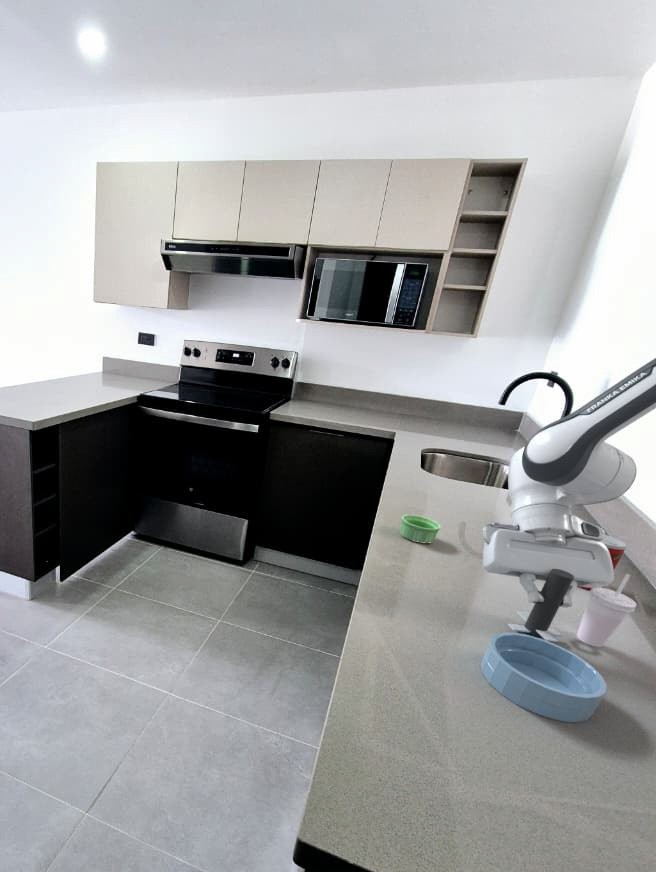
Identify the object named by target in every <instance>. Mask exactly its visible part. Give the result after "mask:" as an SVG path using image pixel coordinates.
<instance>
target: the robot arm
mask: <svg viewBox="0 0 656 872" xmlns="http://www.w3.org/2000/svg"><path fill="white" fill-rule="evenodd" d="M655 409H656V357H655V358H653V359H652V360H650V361H648V362H647V363H645V364H643V365H642V366H641V367H639V368H637V369H636V370H635V371H633V372H631V373H630V374H629V375H627V376H626V377H624V378H622V379H621V380H619V381H618V382H617V383H615V384H613V385H612V386H610V387H609V388H607V389H606V390H605V391H603V392H601V393H600V394H599V395H597V396H595V397H594V398H593V399H591V400H590V401H588V402H586V403H585V404H584V405H582V406H581V407H579V408H578V409H576V410H575V411H573V412H571V413H569V414H568V415H565V416H564V417H562V418H559V419H557V420H555V421H552V422H551V423H548V424H547V425H545V426H543V427H541V428H540V429H538V430H536V432H534V433H533V434H532V435H531V437H529V439H528V440H527V441H526V443H525V445H524V446H523V447H521V448H520V449H518V450H517V451H516V452H515V453H514V454H513V455H512V457H511V459H510V461H509V465H508V470H507V473H508V474H507V483H508V484H507V485H508V496H509V499H510V501H511V503H512V508H511V512H510V519H511V523H501V522H498V521H491V523H488V524H485V526H484V527H483V529H482V537H483V541H484V544H483V549H482V550H483V551H482V567H483V569H484V570H486V572H487V573H490V574H496V575H497V574H498V575H503V576H504V575H505V576H509V577H516V578H519V579H518V580H519V583H520V585H521V586H522V588H523V589H524V591H525V592H526V593H527V598H528V599H527V600H528V603H532V604H535V603H538V604H539V603H542V602H544V597H543V596H544V593H543V592H542V591H541V590H539V589H538V587H537V585H536V584H535V581H544V582H546V580H547V578H548V576H549V573H550V571H551V570H552V569H560V570H563V571H566V572H568V573H570V574H572V575H573V576H574V579H573V581H572V583H571V585H570V587H569V589H568V591H567V593H566V595H565V597H564V599H563V601H562V603H561V605H560V607H559V608H564V609H568V608H571V607H572V606H573V599H572V597H573V596H574V594H575V592H576V590H577V588H578V586H582V587H589V588H600V587H604V586H605V587H606V586H609V585H611V584H612V583H613V581H614V580H615V572H614V571H615V569H614V570H613V565H612V560H611V556H610V553H609V550H608V548H607V547H606V546H605V545H604V544H603V543H602V542H600V541H601V540H603V539H605V535H606V532H605V529H603V528H602V527H600V526H598V525H595V524H593V523H591V522H589V521H586V520H584V519H582V518H580V517H578V516H577V515H574V514H572V507H573V506H576V507H577V506H588V505H595V504H601V503H607V502H611V501H613V500H616V499H618V498H619V497H621V496H623V495H624V494H625V493H627V491H628V490H629V489H630V488H631V487H632V485H633V483H634V482H635V479H636V476H637V464H636V462H635V460H634V459H633V458H632V457H631V456H630V455H628V454H627V453H625V452H624V451H622V450H621V449H619V448H618V447H616V446H614V445H612V444H610V443H608V442H606V440H608V439H609V438H611V437H612V436H613V435H616V434H618V433H619V432H620V431H622V430H624V429H625V428H627V427H628V426H630V425H631V424H632V423H635V422H636V421H638V420H639V419H642V418H643V417H644V416H646V415H648V414H649V413H650V412H652V411H654V410H655ZM605 587H604V588H605Z"/></svg>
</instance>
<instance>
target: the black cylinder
mask: <svg viewBox="0 0 656 872" xmlns="http://www.w3.org/2000/svg"><path fill="white" fill-rule="evenodd" d="M573 579H574V576H573V575H572V574H570V573H568V572H566V571H563V570H560V569H552V570H551V571H550V573H549V576H548V578H547V580H546V581H544V584H543V585H542V588H541V590H540V591H542V592H543V593H544V596H543V597H544V602H542V603H539V604H538V603H534V605H533V607H532V609H531V611H530V613H529V612H525V611H517V614H518V615H519V616H520V617H521V618H522V619H523V620H524V621H525V624H516V623H508V624H507V625H508V627H509V628H510V629H511V630H512V631H514V632H516V633H519V634H526V635H530V636H533V637H537V638H540V639H544V640H546V641H548V642H551V643H558V640H557V639H556V638H555V637H563V635H562V634H561V633H560V632H559V631H558V630H557V629H555V628H550V626H551V624H552V622H553V620H554V618H555V617H556V614H557V612H558V611H559V609H560V608H561V607H560V605H561V603H562V601H563V599H564V597H565V595H566V593H567V591H568V589H569V587H570V585H571V583H572V581H573Z"/></svg>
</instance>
